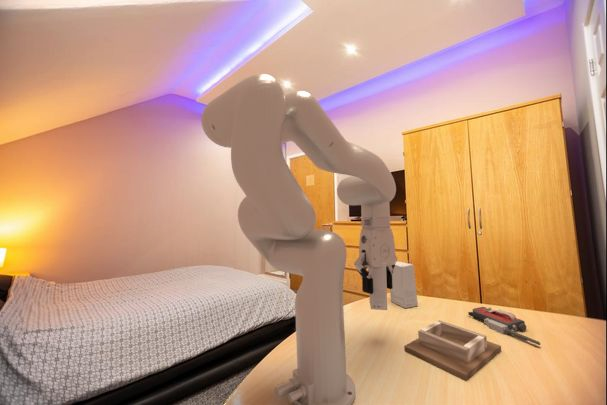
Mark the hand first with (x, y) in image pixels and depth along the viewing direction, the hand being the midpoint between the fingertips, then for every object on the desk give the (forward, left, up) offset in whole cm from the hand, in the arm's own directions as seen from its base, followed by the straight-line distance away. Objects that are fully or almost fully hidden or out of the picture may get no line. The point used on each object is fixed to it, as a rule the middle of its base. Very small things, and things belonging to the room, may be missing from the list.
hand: (377, 289), depth 68 cm
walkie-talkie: (+33, -17, -14) cm, 40 cm away
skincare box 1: (0, 0, -5) cm, 5 cm away
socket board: (+10, -14, -13) cm, 22 cm away
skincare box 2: (+28, +12, -14) cm, 33 cm away
